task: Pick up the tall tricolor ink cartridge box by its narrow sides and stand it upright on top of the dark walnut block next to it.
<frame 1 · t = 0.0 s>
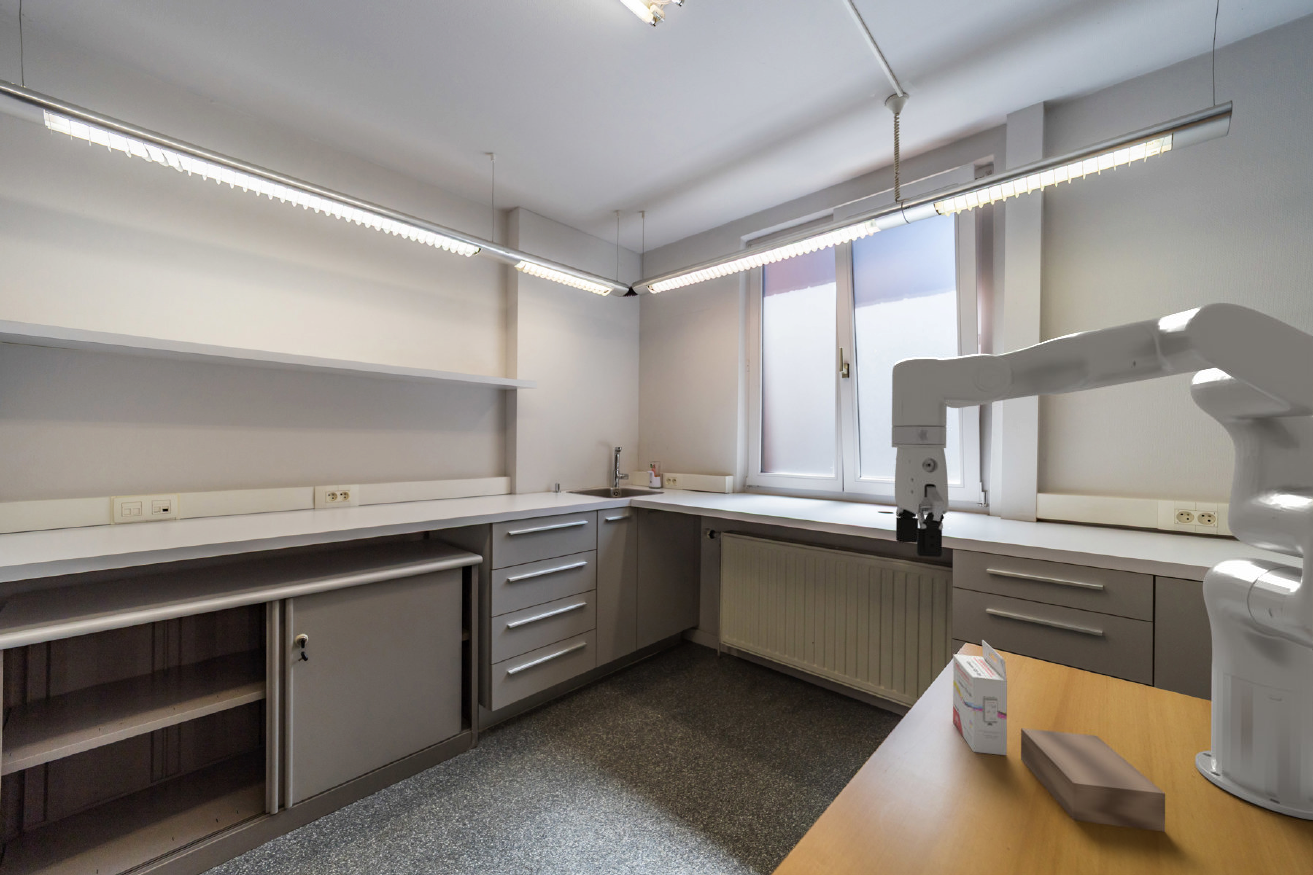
hand: (917, 548, 76), 31 cm above the table, tool pointing down, fingers open, 9 cm apart
ink cartridge box: (977, 739, 79), on the table
walnut block: (1085, 793, 68), on the table
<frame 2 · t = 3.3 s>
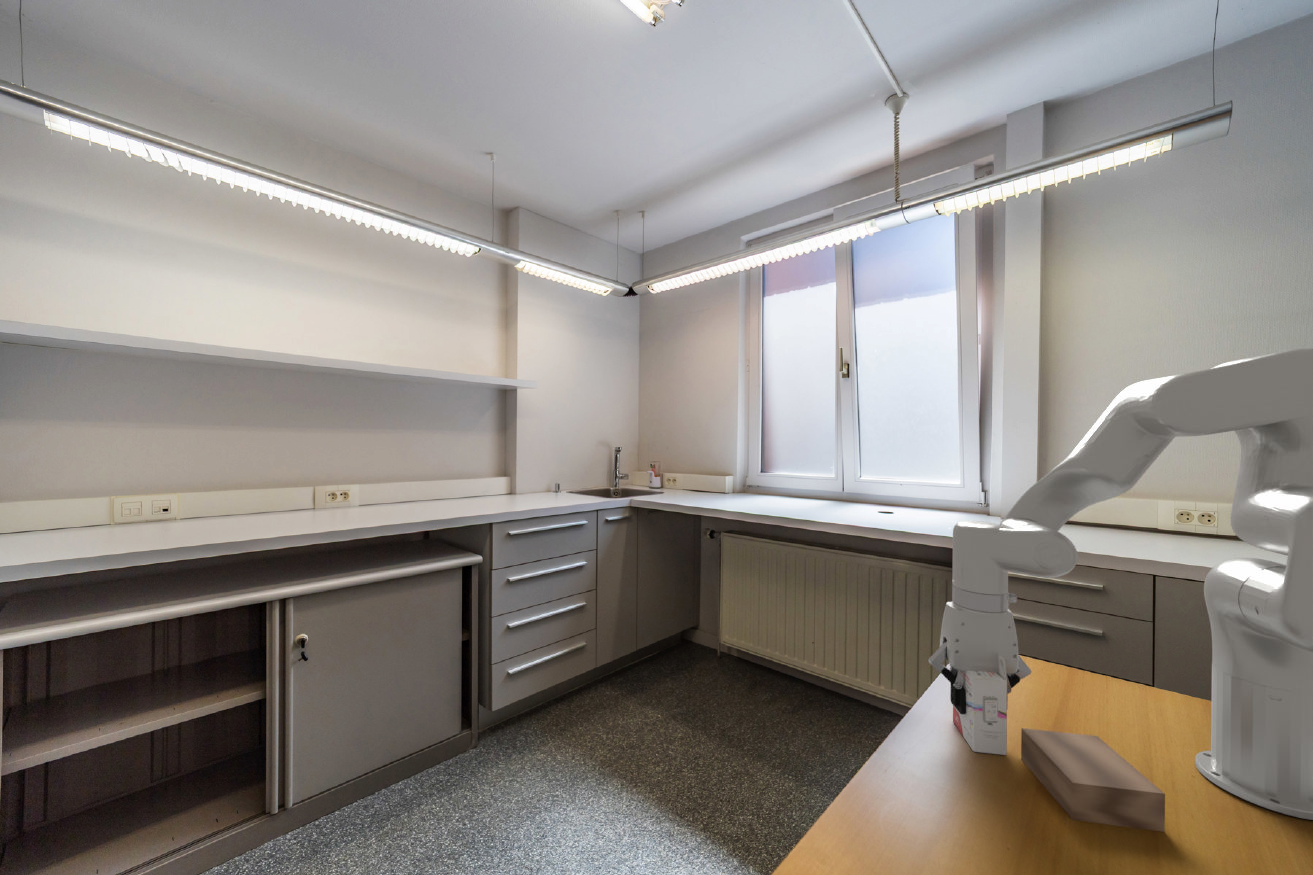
hand: (978, 710, 79), 4 cm above the table, tool pointing down, fingers closed on ink cartridge box, 5 cm apart
ink cartridge box: (977, 739, 79), on the table, touching gripper
everything else where it was.
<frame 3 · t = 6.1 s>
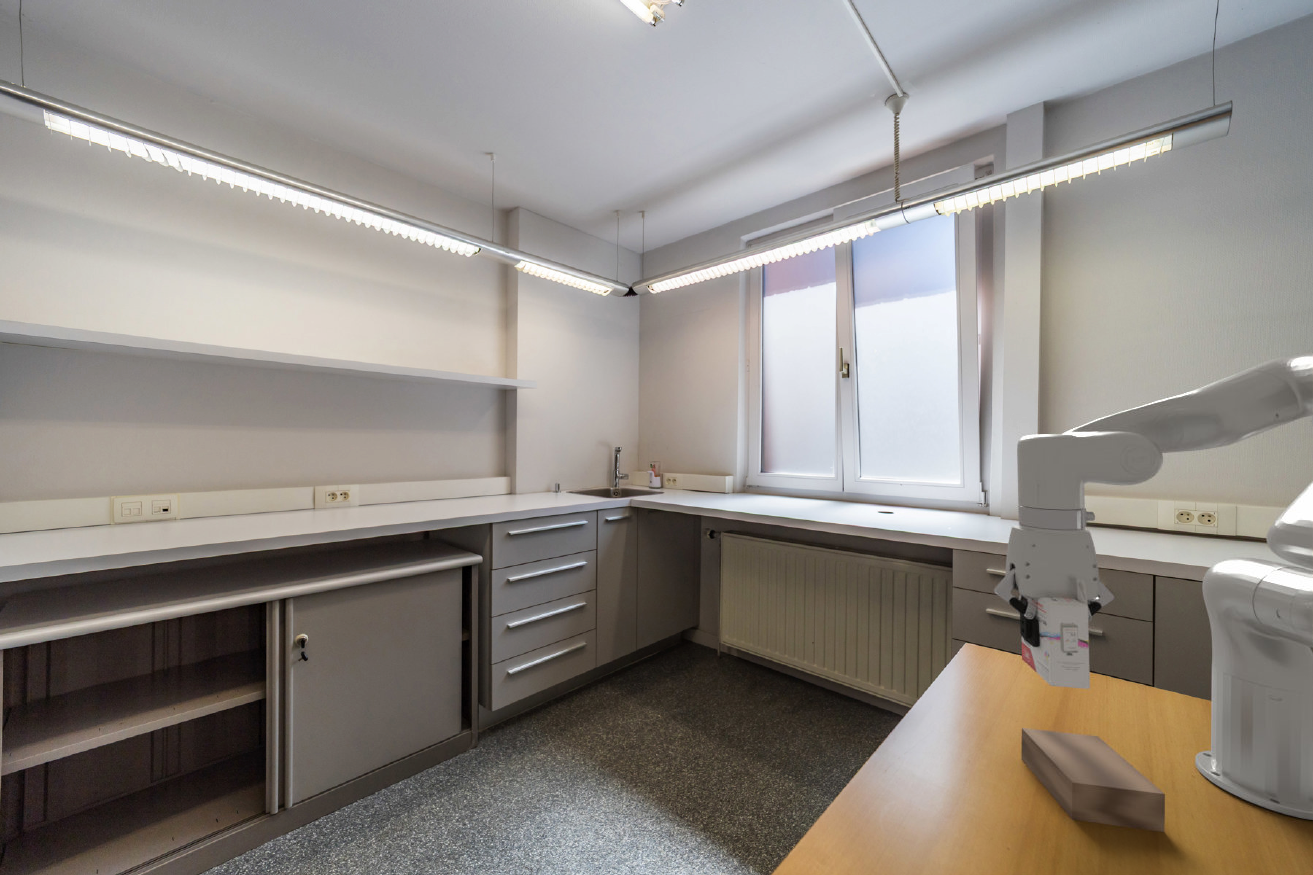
hand: (1053, 643, 71), 19 cm above the table, tool pointing down, fingers closed on ink cartridge box, 5 cm apart
ink cartridge box: (1053, 675, 71), point 14 cm above the table, touching gripper
everything else where it was.
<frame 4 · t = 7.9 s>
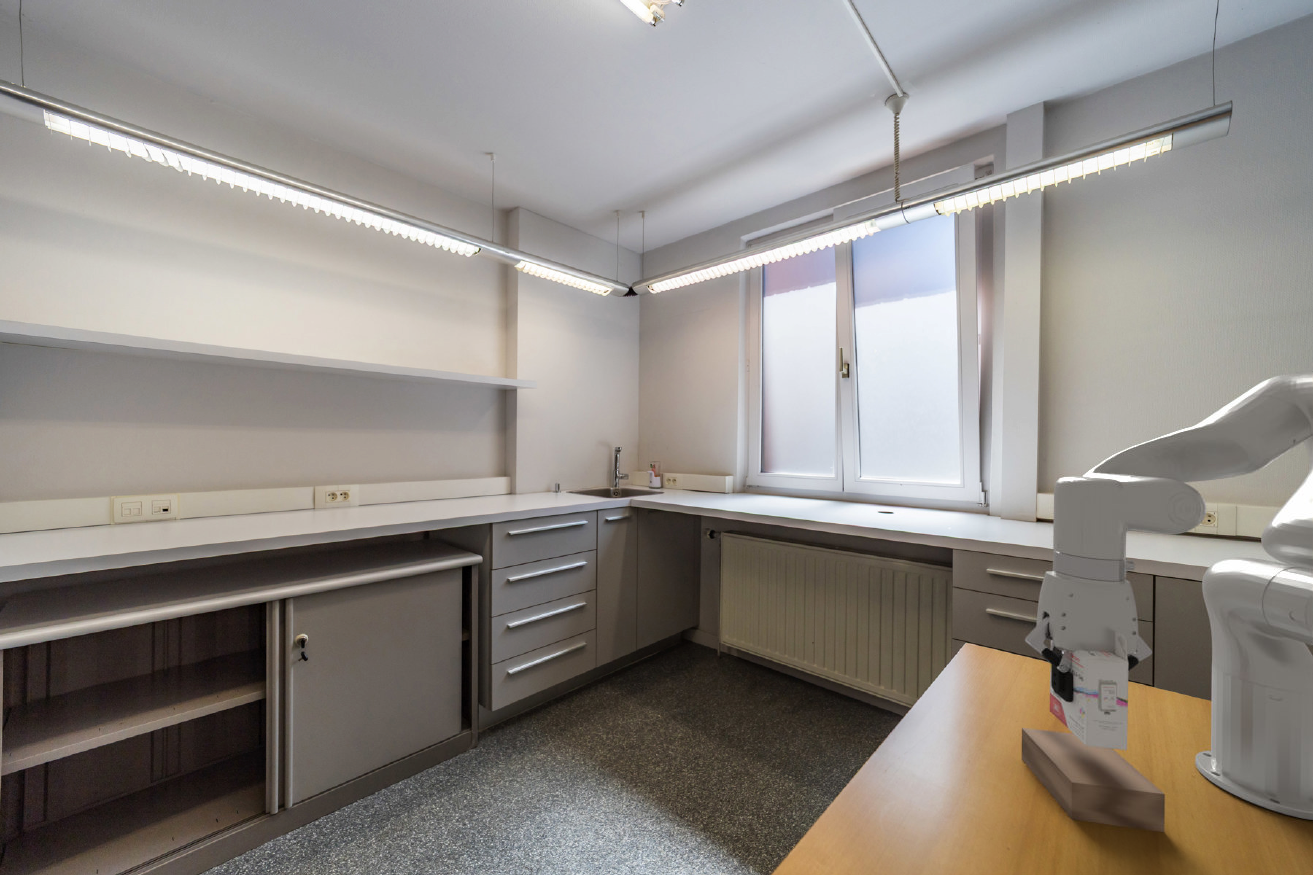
hand: (1086, 697, 68), 13 cm above the table, tool pointing down, fingers closed on ink cartridge box, 5 cm apart
ink cartridge box: (1085, 731, 68), point 8 cm above the table, touching gripper
everything else where it was.
when the fingers open (10 cm above the table, at t = 9.3 s): ink cartridge box drops 1 cm, resting on walnut block.
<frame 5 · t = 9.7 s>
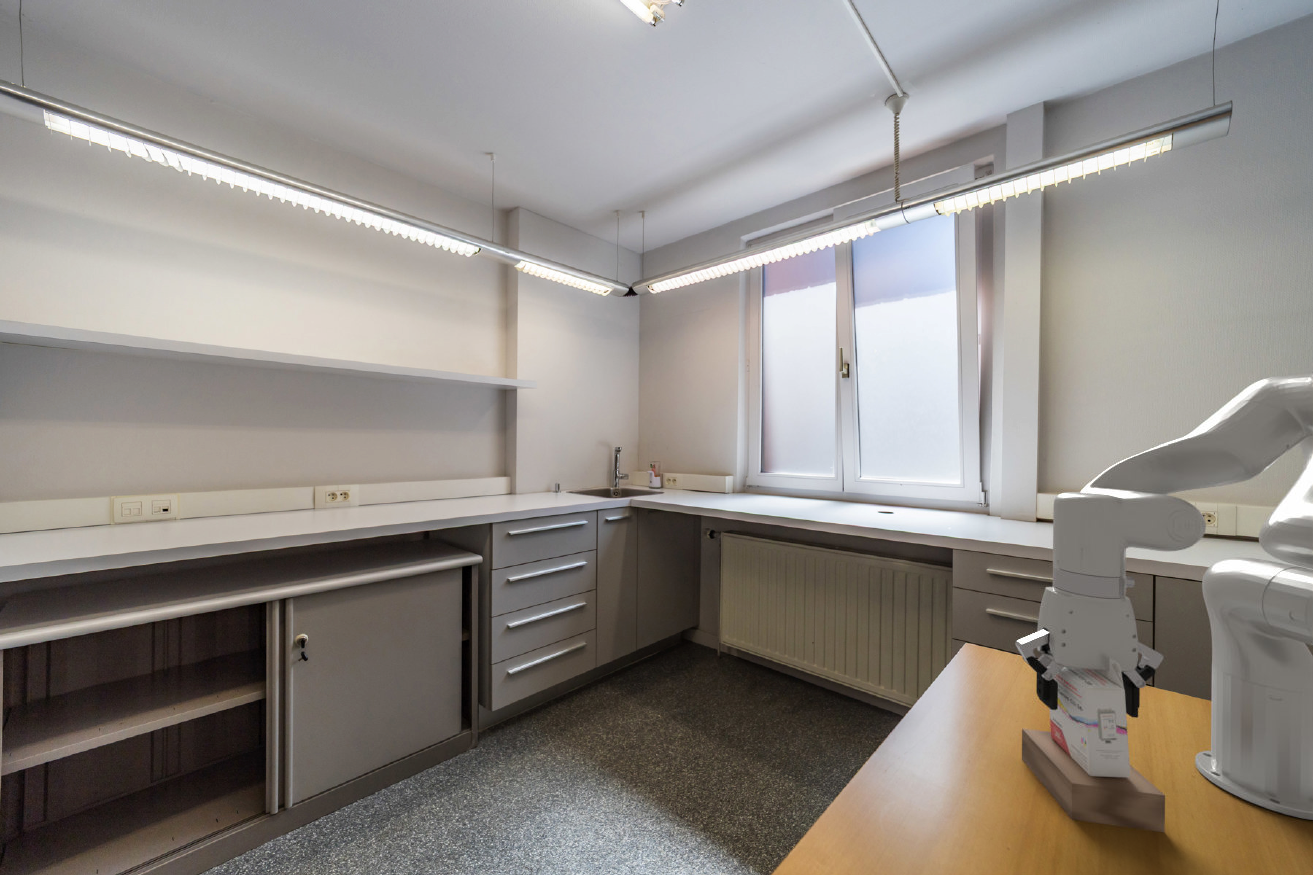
hand: (1086, 708, 68), 11 cm above the table, tool pointing down, fingers open, 9 cm apart
ink cartridge box: (1088, 758, 68), point 4 cm above the table, touching walnut block
walnut block: (1085, 794, 68), on the table, touching ink cartridge box
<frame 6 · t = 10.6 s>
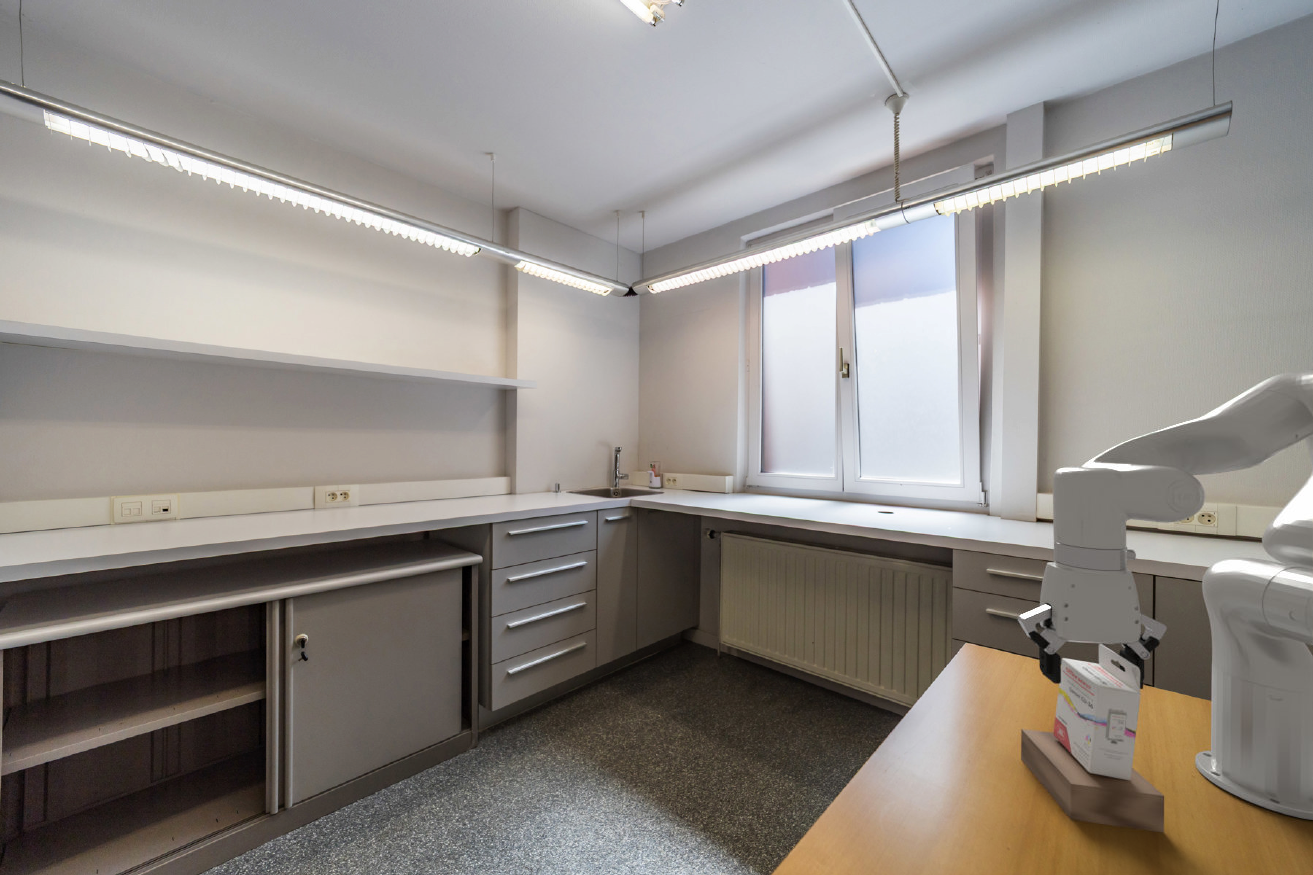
hand: (1090, 681, 68), 15 cm above the table, tool pointing down, fingers open, 9 cm apart
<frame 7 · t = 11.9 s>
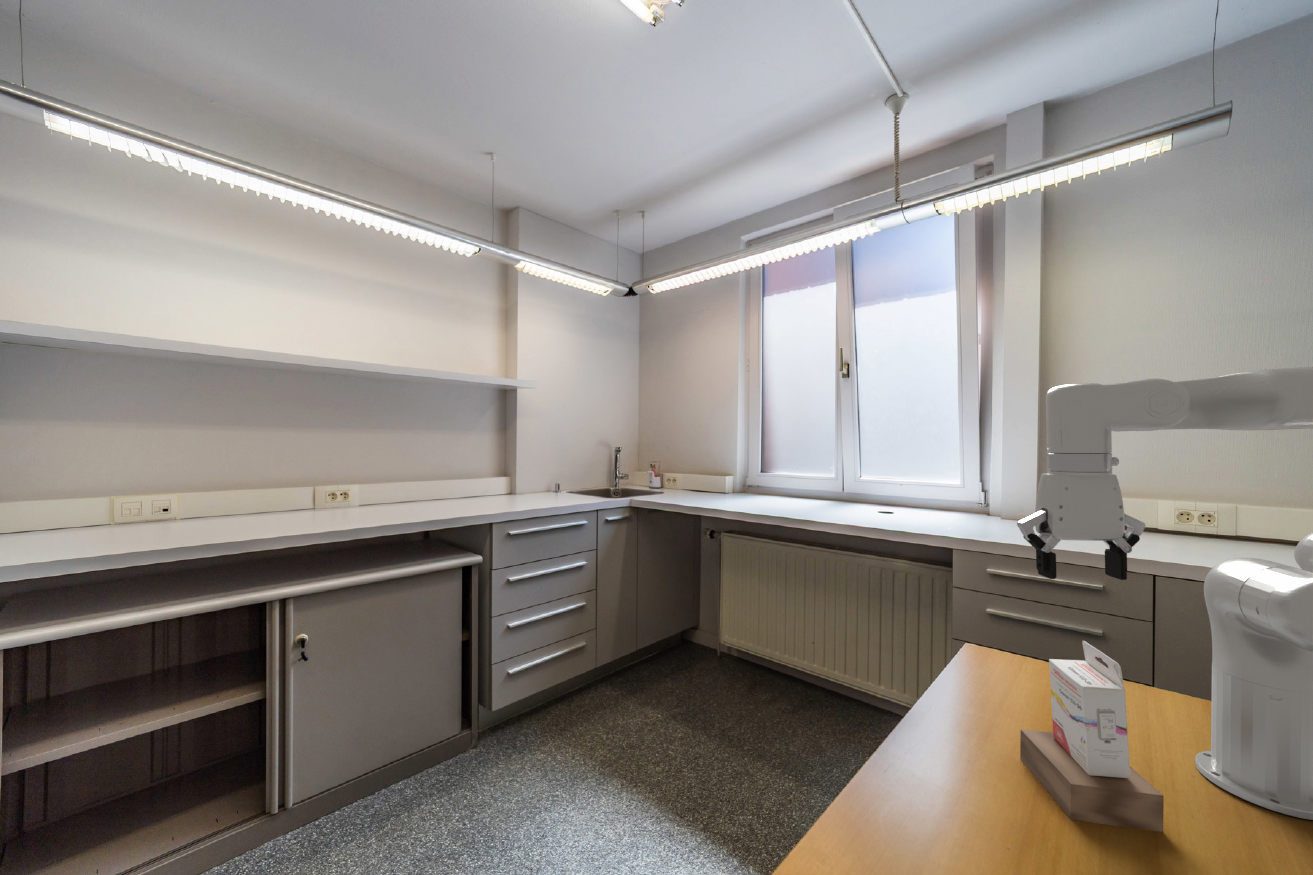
hand: (1081, 577, 75), 27 cm above the table, tool pointing down, fingers open, 9 cm apart
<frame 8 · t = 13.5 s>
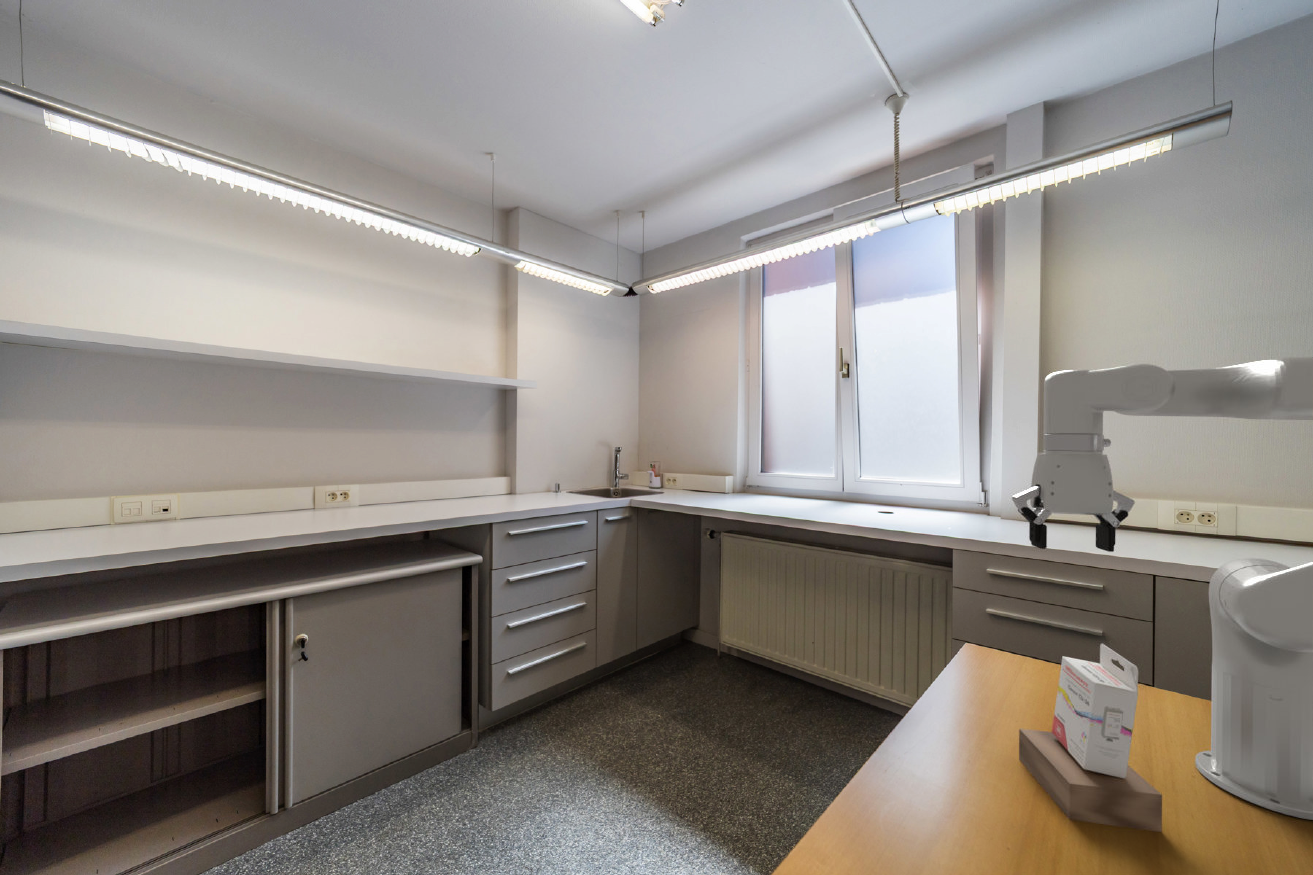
hand: (1071, 548, 82), 30 cm above the table, tool pointing down, fingers open, 9 cm apart
at the end: ink cartridge box 0.6 cm off-centre on the walnut block, point 5.1 cm above the walnut block's base; ink cartridge box tilted 9°; the gripper is holding nothing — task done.
